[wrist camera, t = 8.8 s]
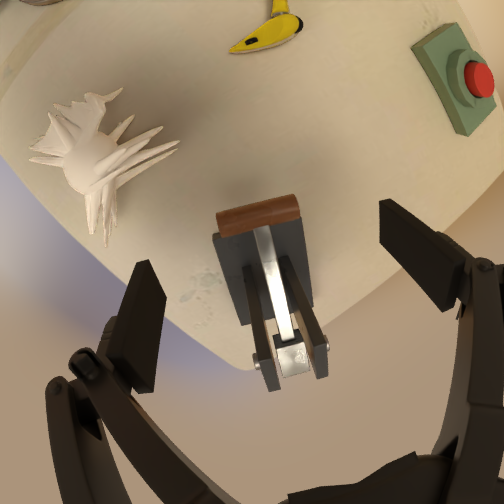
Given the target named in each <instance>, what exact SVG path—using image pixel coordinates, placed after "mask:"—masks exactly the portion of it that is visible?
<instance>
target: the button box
mask: <svg viewBox="0 0 504 504" xmlns="http://www.w3.org/2000/svg"><path fill="white" fill-rule="evenodd" d="M411 49H412V51H413V52H414V54H415V55H416V57H417V58H418V60H419V62H420V63H421V65H422V67H423V68H424V70H425V72H426V73H427V75H428V77H429V79H430V80H431V82H432V84H433V86H434V88H435V90H436V91H437V93H438V95H439V97H440V99H441V101H442V103H443V105H444V107H445V109H446V111H447V113H448V116H449V118H450V120H451V122H452V124H453V127H454V129H455V131H456V133H457V134H460V135H464V136H467V137H468V136H469V135H470V134H471V133H472V132H473V131H474V130H475V129H476V128H477V127H478V126H479V125H480V124H481V123H482V122H483V121H484V119H485V118H486V117H487V116H488V115H489V114H490V113H491V112H492V111H493V110H494V109H495V107H496V103H495V101H494V98H493V95H491V96H490V97H488V98H486V97H480V96H475V95H473V94H471V93H470V91H469V90H468V88H467V86H466V84H465V79H464V68H465V65H466V64H467V63H469V62H477V63H484V64H485V65H487V64H486V61H485V60H484V59H483V58H482V57H481V56H480V55H479V54H478V53H477V52H476V51H473V50H472V48H471V47H470V45H469V43H468V41H467V39H466V37H465V35H464V34H463V32H462V30H461V28H460V27H459V25H458V23H457V22H455V23H448V24H444V25H443V26H441V27H440V28H438V29H437V30H435V31H434V32H432V33H431V34H430V35H428V36H427V37H425V38H424V39H422V40H421V41H419V42H418V43H417V44H415V45H414V46H412V47H411Z"/></svg>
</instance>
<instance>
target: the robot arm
mask: <svg viewBox="0 0 504 504" xmlns="http://www.w3.org/2000/svg"><path fill="white" fill-rule="evenodd" d="M20 1H22V2H25V3H28V4H30V5H37V6H40V5H49V4H53V3H56V2H59V1H62V0H20ZM379 217H380V242H379V243H380V244H381V245H382V246H383V247H384V248H385V249H386V250H387V251H388V252H389V253H390V254H391V255H392V256H393V257H394V258H395V259H396V261H397V262H398V263H399V264H400V265H401V266H402V267H403V268H404V269H405V270H406V271H407V272H408V274H409V275H410V276H411V277H412V278H413V279H414V280H415V281H416V283H417V284H418V285H419V286H420V287H421V288H422V289H423V291H424V292H425V293H426V294H427V295H428V296H429V298H430V299H431V300H432V301H433V302H434V303H435V305H436V306H437V307H438V308H439V310H440V311H441V312H445V311H447V310H449V309H451V308H453V307H454V305H455V302H456V298H458V299H459V300H460V301H461V304H460V308H459V311H458V314H457V317H456V319H457V320H458V318H459V325H458V338H457V349H456V357H455V364H454V371H453V377H452V384H451V389H450V394H449V399H448V404H447V408H446V413H445V417H444V421H443V425H442V429H441V432H440V436H439V438H438V440H437V442H436V444H435V446H434V448H433V450H432V453H431V455H419V456H417V455H416V452H415V451H414V452H412V453H410V454H408V455H405V456H403V457H401V458H399V459H397V460H394V461H392V462H390V463H388V464H386V465H384V466H383V467H381V468H380V469H378V470H377V471H376V472H374V473H372V474H371V475H370V476H368V477H366V478H365V479H363V480H361V481H360V482H358V483H355V484H347V485H335V486H321V487H316V488H312V489H308V490H304V491H300V492H295V493H291V494H288V499H286V500H284V501H282V502H280V503H278V504H504V479H502V478H500V477H498V475H499V470H500V466H501V462H502V457H503V451H504V407H503V391H504V264H500V265H495V264H494V263H493V262H492V261H490V260H489V259H486V258H481V257H479V258H474V257H473V256H472V255H471V254H469V253H468V252H467V251H466V250H465V249H464V248H462V247H461V246H460V245H458V244H457V243H456V242H455V241H453V240H452V239H451V238H450V237H449V236H447V235H446V234H444V233H441V232H439V231H437V232H435V231H433V230H432V229H431V228H430V227H428V226H427V225H426V224H424V223H423V222H422V221H421V220H419V219H418V218H417V217H415V216H414V215H413V214H411V213H410V212H408V211H407V210H406V209H404V208H403V207H402V206H400V205H399V204H397V203H396V202H395V201H393V200H392V199H385V200H381V201H379ZM166 300H167V297H166V295H165V293H164V291H163V289H162V287H161V285H160V282H159V280H158V278H157V276H156V274H155V272H154V270H153V268H152V265H151V263H150V261H149V259H148V260H144V261H140V262H137V263H136V265H135V268H134V270H133V273H132V275H131V278H130V281H129V284H128V286H127V289H126V292H125V295H124V297H123V300H122V303H121V306H120V309H119V312H118V315H117V316H113V317H111V318H110V320H109V321H108V322H107V324H106V325H105V328H104V331H103V335H102V337H101V341H100V343H99V346H98V349H97V352H96V354H95V353H94V351H92V349H91V348H87V347H85V348H81V349H79V350H78V351H77V352H75V353H74V354H73V355H72V357H71V358H70V360H69V364H68V366H69V369H70V370H71V371H72V373H73V374H74V375H75V376H76V377H77V379H75V380H73V381H70V382H68V381H67V380H66V379H65V378H63V377H62V376H58V377H55V378H53V379H52V380H51V381H50V382H49V383H48V385H47V387H46V391H45V399H46V412H47V422H48V431H49V439H50V445H51V452H52V457H53V462H54V468H55V473H56V477H57V482H58V486H59V489H60V494H61V498H62V501H63V504H132V503H131V500H130V498H129V496H128V494H127V491H126V489H125V487H124V484H123V482H122V479H121V477H120V474H119V471H118V469H117V466H116V463H115V461H114V458H113V455H112V452H111V449H110V446H109V443H108V440H107V437H106V434H105V430H104V427H103V423H102V421H103V422H104V424H105V425H106V427H107V429H108V430H109V432H110V433H111V435H112V436H113V438H114V440H115V441H116V443H117V444H118V445H119V447H120V448H121V450H122V451H123V452H124V454H125V455H126V457H127V458H128V460H129V461H130V462H131V464H132V465H133V466H134V468H135V469H136V470H137V472H138V473H139V474H140V475H141V476H142V478H143V479H144V481H145V482H146V483H147V484H148V485H149V487H150V488H151V489H152V490H153V491H154V492H155V494H156V495H157V496H158V497H159V498H160V499H161V501H162V502H163V503H164V504H241V503H239V502H238V501H236V500H235V499H234V498H232V497H231V496H230V495H229V494H227V493H226V492H225V491H224V490H223V489H221V488H220V487H219V486H218V485H217V484H216V483H214V482H213V481H212V480H211V479H210V478H209V477H208V476H207V475H205V474H204V473H203V472H202V471H201V470H200V469H199V468H198V467H197V466H196V465H195V464H194V463H193V462H192V461H191V460H189V459H188V458H187V457H186V456H185V455H184V454H183V452H181V450H180V449H178V448H177V446H176V445H175V444H174V443H173V442H172V441H171V440H170V439H169V438H168V437H167V436H166V435H165V434H164V433H163V431H162V430H161V429H160V428H159V427H158V426H157V425H156V424H155V423H154V421H153V420H152V419H151V418H150V417H149V416H148V414H147V413H146V412H145V411H144V410H143V408H142V407H141V406H140V405H139V403H138V402H137V401H136V400H135V398H134V397H133V396H132V395H131V390H132V387H133V389H135V391H136V392H137V393H138V394H143V393H153V392H154V383H155V374H156V366H157V359H158V352H159V344H160V338H161V330H162V324H163V317H164V312H165V306H166ZM101 419H102V420H101Z"/></svg>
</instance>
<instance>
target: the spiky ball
mask: <svg viewBox="0 0 504 504" xmlns="http://www.w3.org/2000/svg"><path fill="white" fill-rule="evenodd" d="M123 88H124V87H123ZM123 88H120V89H118V90H116V91H114V92H112V93H110V94H108V95H103V96H102V95H97V94H94V93H91V92H88V93H85V94H84V97H85V101H86V103H84V102H76V101H72V102H71V103H72V106H69V107H67V106H63V105H59V104H57V103H53V104H54V105H53V106H55V107H56V108H57V109H58V110H59V111H60V112H61V114H62V115H63V116H64V117H65V118H66V119H64V118H62V117H60V116H57V115H56V117H57V118H56V117H55V116H54V115H53V114H52V113H51V112H48V116H49V117H50V120H51V122H52V123H51V125H50V127H49V129H48V131H47V133H46V135H42V136H39V137H42V138H36V140H40V141H39V142H37V143H36V144H35V145H34V146H29V147H28V148H29V149H31V150H34V151H38V152H42V153H46V154H50V155H54V156H58V157H32V158H29V160H30V161H32V162H36V163H41V164H46V165H52V166H57V167H62V168H64V174H65V177H66V180H67V182H68V183H69V185H70V186H71V187H72V188H73V189H74V190H76V191H77V192H79V193H81V194H84V196H85V204H86V214H87V222H88V229H89V233H90V234H92V233H93V234H94V233H95V231H96V227H97V221H98V216H99V210H100V205H101V203H102V206H103V234H104V242H105V248H107V245H108V235H109V236H110V235H111V228H112V216H113V220H114V224H115V227H117V200H116V191H117V189H118V188H119V187H120V186H122V185H123V184H124V183H126V182H127V181H128V180H130V179H131V178H133V177H134V176H136V175H137V174H139V173H141V172H142V171H144V170H145V169H147V168H149V167H150V166H152V165H153V164H155V163H157V162H158V161H160V160H162V159H163V158H165V157H167V156H168V155H170V154H172V153H173V152H175V151H176V150H177V149H179V148H176V149H174V150H171V151H169V152H166V153H164V154H162V155H160V156H158V157H156V158H154V159H151V160H149V161H147V162H145V163H143V164H141V165H139V166H137V167H135V168H133V169H131V170H129V171H127V172H125V171H126V170H127V169H128V168H129V167H131V166H133V165H135V164H137V163H139V162H141V161H143V160H145V159H147V158H149V157H151V156H153V155H155V154H157V153H159V152H162V151H164V150H166V149H168V148H170V147H172V146H174V145H175V144H177V143H179V142H180V140H176V141H172V142H169V143H166V144H163V145H160V146H157V147H154V148H152V149H149V150H147V149H146V150H142V151H139V152H137V151H138V150H140V149H141V148H142V147H144V146H145V145H146V144H147V143H148V142H149V141H150V138H151V137H153V136H154V135H155V134H157V133H158V132H159V131H160V130H161V129H162V128H163V126H160V127H157V128H154V129H152V130H149V131H147V132H145V133H143V134H141V135H139V136H137V137H135V138H133V139H131V140H129V141H127V142H125V143H123V144H121V145H119V146H118V145H117V143H116V141H117V140H118V139H119V137H120V136H121V134H122V133H123V132H124V131H125V129H126V128H127V127H128V125H129V124H130V123H131V121H132V120H133V118H134V117H135V115H132V116H130V117H129V118H128V119H126V120H125V121H124V122H119V124H118V126H117V127H116V128H115V130H114V131H113V132H112V133H111V134H109V135H108V136H107V135H105V134H104V133H103V132H99V131H98V128H99V124H100V122H101V120H102V118H103V116H104V114H105V112H106V107H105V102H107V101H111V100H112V99H114V98H115V97H116V96H117V95H118V94H119V93H120V92H121V91H122V90H123ZM124 172H125V173H124Z"/></svg>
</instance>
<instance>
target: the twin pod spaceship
mask: <svg viewBox="0 0 504 504" xmlns="http://www.w3.org/2000/svg"><path fill="white" fill-rule="evenodd" d="M278 14H280V15H278ZM276 15H278V16H276ZM274 16H276V17H274ZM271 17H274V18H272V19H270V20H269V21H267V22H266V23H264V24H263V25H262V26H260V27H259V28H258V29H256V30H255V31H254V32H253V33H251V34H250V35H249V36H247V37H246V38H245V39H244V40H242V41H241V42H240V43H238V44H237V45H235V46H233V47H232V48H231V49H230V50H229V52H231V53H233V54H238V53H247V52H253V51H258V50H263V49H267V48H271V47H275V46H277V45H280V44H283V43H285V42H287V41H289V40H291V39H292V38H293V37H295V36H296V35H297V34H298V33H299V32H300V31H301V30H302V28H303V22H302V20H301V19H300V18H299V17H297V16H294V15H292V14H289V7H288V1H287V0H273V9H272V13H271Z"/></svg>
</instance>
